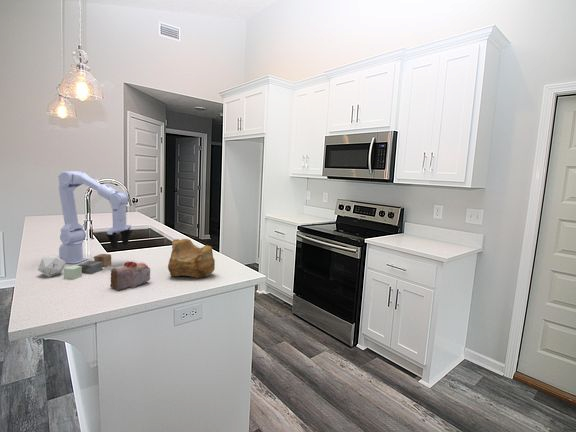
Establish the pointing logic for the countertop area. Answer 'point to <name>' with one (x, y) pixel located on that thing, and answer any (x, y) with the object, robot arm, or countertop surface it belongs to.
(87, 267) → the charcoal base block
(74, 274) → the sage cube
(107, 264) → the walnut cube
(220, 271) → the countertop surface
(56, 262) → the pale gray rock
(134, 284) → the food item
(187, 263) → the rough brown rock
